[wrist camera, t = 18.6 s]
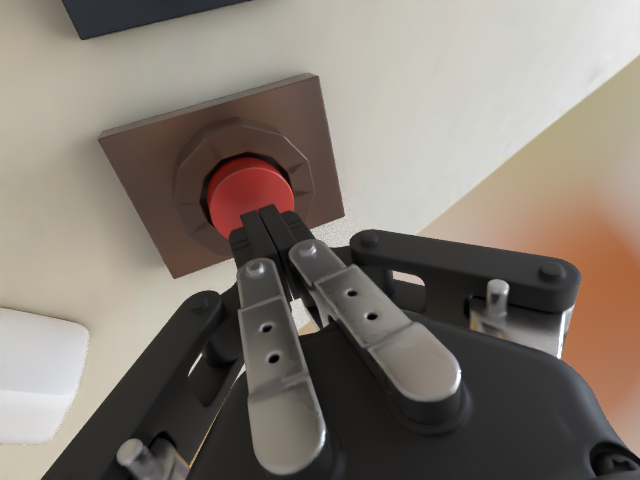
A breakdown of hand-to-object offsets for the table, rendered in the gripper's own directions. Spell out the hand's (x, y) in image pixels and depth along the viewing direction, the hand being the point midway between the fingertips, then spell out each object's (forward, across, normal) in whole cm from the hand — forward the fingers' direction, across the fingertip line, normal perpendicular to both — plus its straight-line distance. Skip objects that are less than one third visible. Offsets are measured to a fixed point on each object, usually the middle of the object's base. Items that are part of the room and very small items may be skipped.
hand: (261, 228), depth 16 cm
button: (+4, 0, 0) cm, 4 cm away
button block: (+7, 0, 0) cm, 7 cm away
